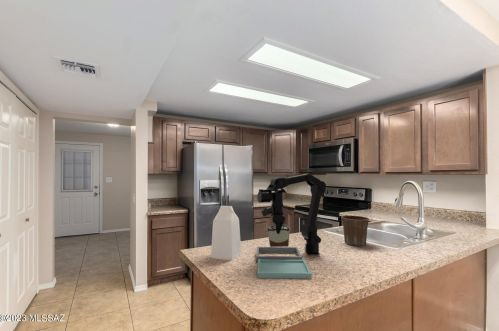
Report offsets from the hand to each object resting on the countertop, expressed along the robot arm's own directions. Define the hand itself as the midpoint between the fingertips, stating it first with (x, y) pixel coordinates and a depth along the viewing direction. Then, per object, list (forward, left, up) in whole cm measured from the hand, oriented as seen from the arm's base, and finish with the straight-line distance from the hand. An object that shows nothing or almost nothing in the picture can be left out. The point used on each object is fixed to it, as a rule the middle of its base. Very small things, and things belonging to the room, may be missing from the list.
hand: (277, 232), depth 131 cm
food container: (-1, -1, -7) cm, 7 cm away
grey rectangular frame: (0, 0, -13) cm, 13 cm away
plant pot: (-49, -28, -13) cm, 58 cm away
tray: (-1, +18, -13) cm, 22 cm away
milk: (+27, -2, -13) cm, 30 cm away
